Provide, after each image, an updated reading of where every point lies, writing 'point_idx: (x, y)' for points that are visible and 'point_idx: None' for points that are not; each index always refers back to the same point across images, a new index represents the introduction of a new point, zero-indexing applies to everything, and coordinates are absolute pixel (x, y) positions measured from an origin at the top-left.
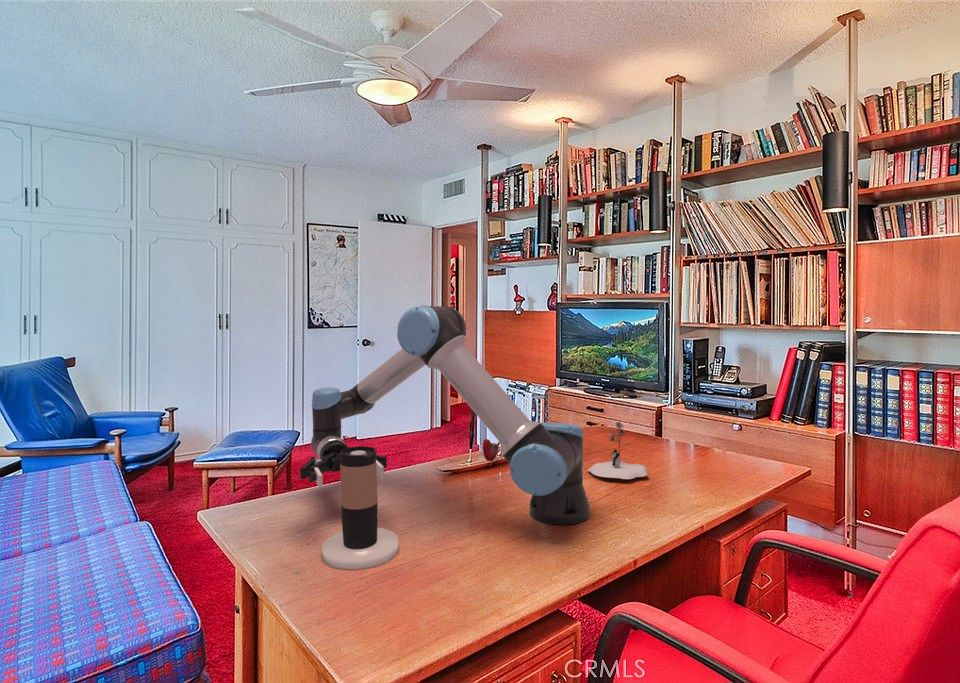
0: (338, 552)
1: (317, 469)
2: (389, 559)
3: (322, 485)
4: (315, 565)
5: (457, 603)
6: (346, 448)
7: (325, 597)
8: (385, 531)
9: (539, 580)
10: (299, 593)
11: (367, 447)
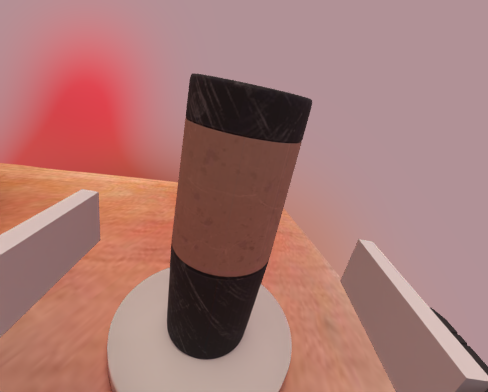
0: (260, 306)
1: (432, 324)
2: None
3: (344, 275)
4: (298, 332)
5: (174, 199)
6: (289, 93)
7: (283, 255)
8: (122, 340)
9: (85, 183)
10: (314, 275)
11: (203, 79)
